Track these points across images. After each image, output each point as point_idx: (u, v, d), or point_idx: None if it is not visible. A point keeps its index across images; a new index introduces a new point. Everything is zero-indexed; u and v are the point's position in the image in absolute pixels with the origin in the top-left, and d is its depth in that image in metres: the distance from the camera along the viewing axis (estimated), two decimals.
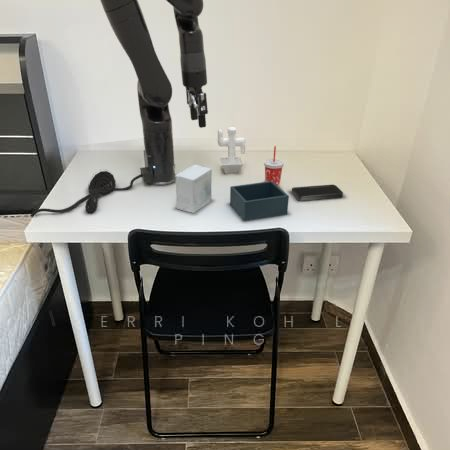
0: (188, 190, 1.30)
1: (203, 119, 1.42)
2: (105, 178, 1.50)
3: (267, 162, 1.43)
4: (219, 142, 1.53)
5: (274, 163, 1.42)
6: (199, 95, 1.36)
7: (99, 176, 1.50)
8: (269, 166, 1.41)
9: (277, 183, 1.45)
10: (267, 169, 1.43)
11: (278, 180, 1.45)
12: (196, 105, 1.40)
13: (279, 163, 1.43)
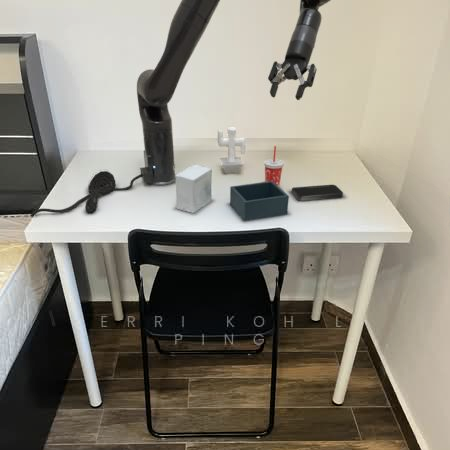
0: (188, 190, 1.30)
1: (303, 91, 1.39)
2: (105, 178, 1.50)
3: (267, 162, 1.43)
4: (219, 142, 1.53)
5: (274, 163, 1.42)
6: (314, 65, 1.37)
7: (99, 176, 1.50)
8: (269, 166, 1.41)
9: (277, 183, 1.45)
10: (267, 169, 1.43)
11: (278, 180, 1.45)
12: (301, 75, 1.38)
13: (279, 163, 1.43)
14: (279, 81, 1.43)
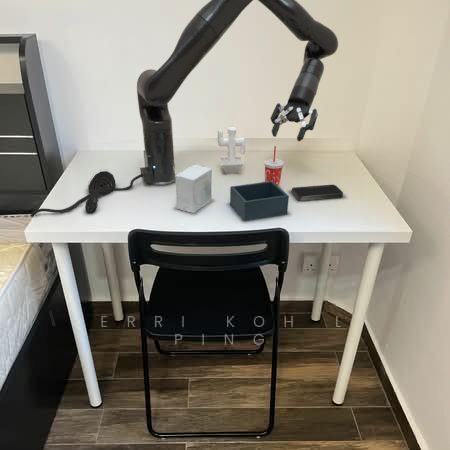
0: (188, 190, 1.30)
1: (304, 133, 1.44)
2: (105, 178, 1.50)
3: (267, 162, 1.43)
4: (219, 142, 1.53)
5: (274, 163, 1.42)
6: (316, 110, 1.43)
7: (99, 176, 1.50)
8: (269, 166, 1.41)
9: (277, 183, 1.45)
10: (267, 169, 1.43)
11: (278, 180, 1.45)
12: (303, 118, 1.43)
13: (279, 163, 1.43)
14: (281, 122, 1.48)
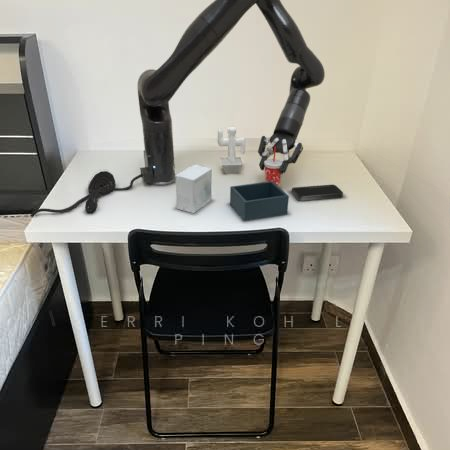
0: (188, 190, 1.30)
1: (286, 166, 1.42)
2: (105, 178, 1.50)
3: (267, 162, 1.43)
4: (219, 142, 1.53)
5: (274, 163, 1.42)
6: (301, 144, 1.40)
7: (99, 176, 1.50)
8: (269, 166, 1.41)
9: (277, 183, 1.45)
10: (267, 169, 1.43)
11: (278, 180, 1.45)
12: (287, 151, 1.41)
13: (279, 163, 1.43)
14: (268, 155, 1.46)
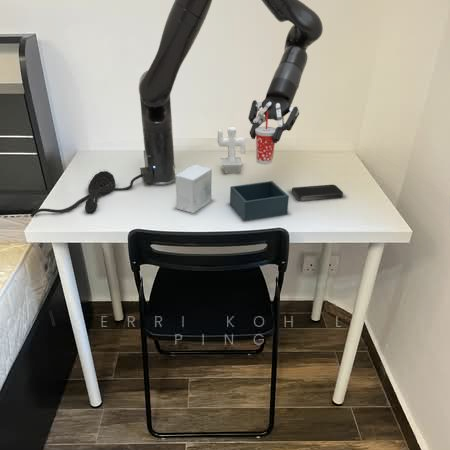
0: (188, 190, 1.30)
1: (280, 134, 1.25)
2: (105, 178, 1.50)
3: (259, 129, 1.27)
4: (219, 142, 1.53)
5: (266, 130, 1.26)
6: (297, 109, 1.24)
7: (99, 176, 1.50)
8: (261, 133, 1.25)
9: (270, 154, 1.29)
10: (259, 137, 1.26)
11: (271, 150, 1.28)
12: (281, 117, 1.24)
13: (272, 130, 1.26)
14: (260, 122, 1.29)
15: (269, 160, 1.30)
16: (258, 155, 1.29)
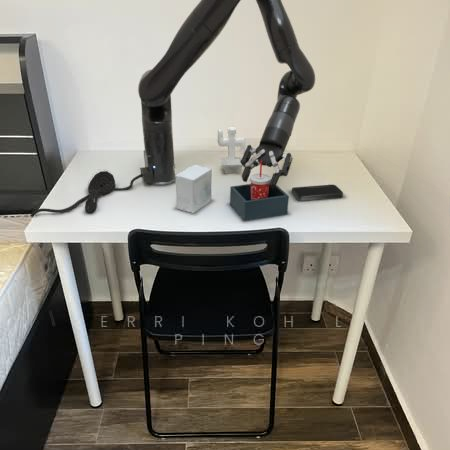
0: (188, 190, 1.30)
1: (277, 179, 1.29)
2: (105, 178, 1.50)
3: (253, 177, 1.31)
4: (219, 142, 1.53)
5: (260, 178, 1.30)
6: (290, 154, 1.28)
7: (99, 176, 1.50)
8: (255, 182, 1.29)
9: None
10: (253, 185, 1.30)
11: (265, 197, 1.33)
12: (276, 163, 1.28)
13: (266, 178, 1.31)
14: (252, 166, 1.33)
15: None
16: None
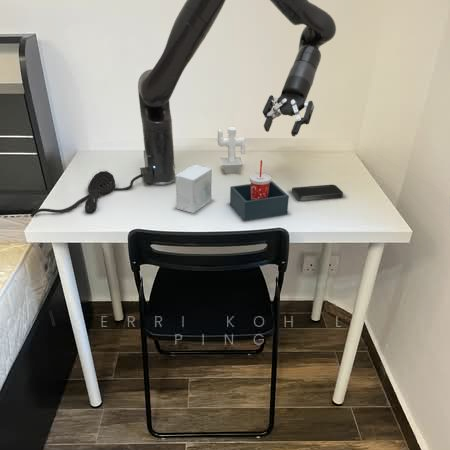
0: (188, 190, 1.30)
1: (299, 127, 1.31)
2: (105, 178, 1.50)
3: (253, 177, 1.31)
4: (219, 142, 1.53)
5: (260, 178, 1.30)
6: (312, 102, 1.30)
7: (99, 176, 1.50)
8: (255, 182, 1.29)
9: None
10: (253, 185, 1.30)
11: (265, 197, 1.33)
12: (298, 111, 1.31)
13: (266, 178, 1.31)
14: (274, 116, 1.36)
15: None
16: None
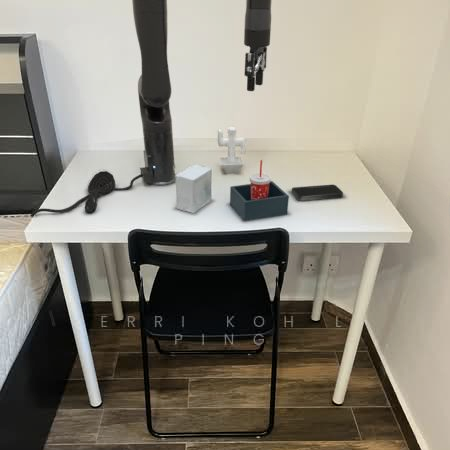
0: (188, 190, 1.30)
1: (250, 82, 1.35)
2: (105, 178, 1.50)
3: (253, 177, 1.31)
4: (219, 142, 1.53)
5: (260, 178, 1.30)
6: (246, 54, 1.30)
7: (99, 176, 1.50)
8: (255, 182, 1.29)
9: None
10: (253, 185, 1.30)
11: (265, 197, 1.33)
12: None
13: (266, 178, 1.31)
14: None
15: None
16: None
